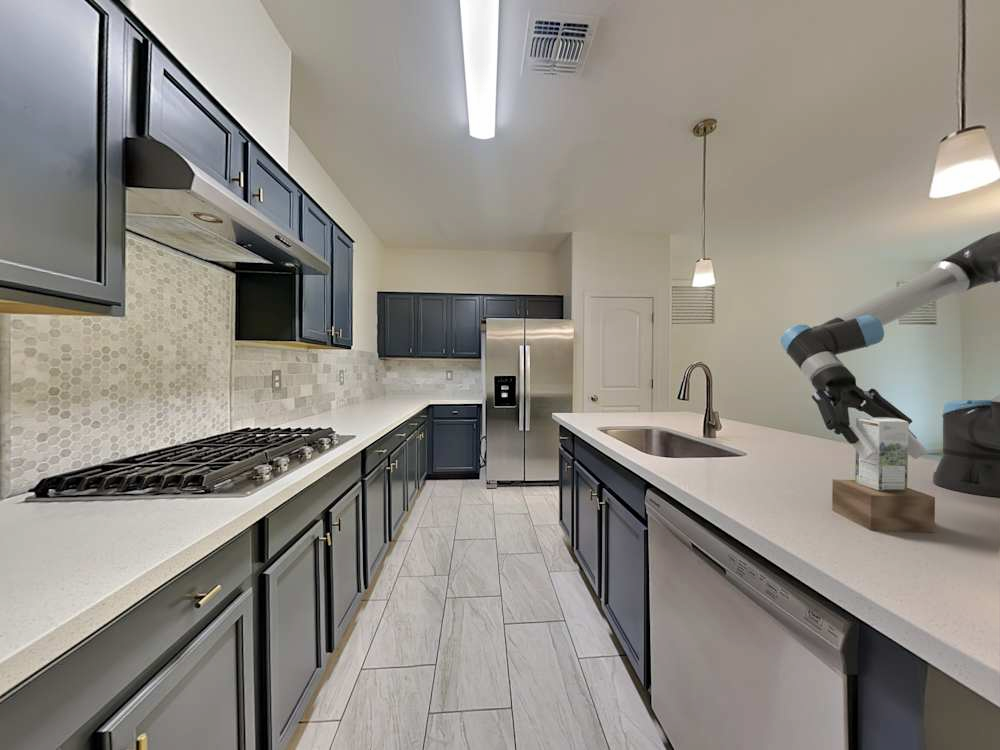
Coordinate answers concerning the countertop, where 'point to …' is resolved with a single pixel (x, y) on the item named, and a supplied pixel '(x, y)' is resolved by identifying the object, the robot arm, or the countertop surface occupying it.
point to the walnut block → (884, 507)
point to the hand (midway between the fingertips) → (895, 455)
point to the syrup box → (883, 454)
